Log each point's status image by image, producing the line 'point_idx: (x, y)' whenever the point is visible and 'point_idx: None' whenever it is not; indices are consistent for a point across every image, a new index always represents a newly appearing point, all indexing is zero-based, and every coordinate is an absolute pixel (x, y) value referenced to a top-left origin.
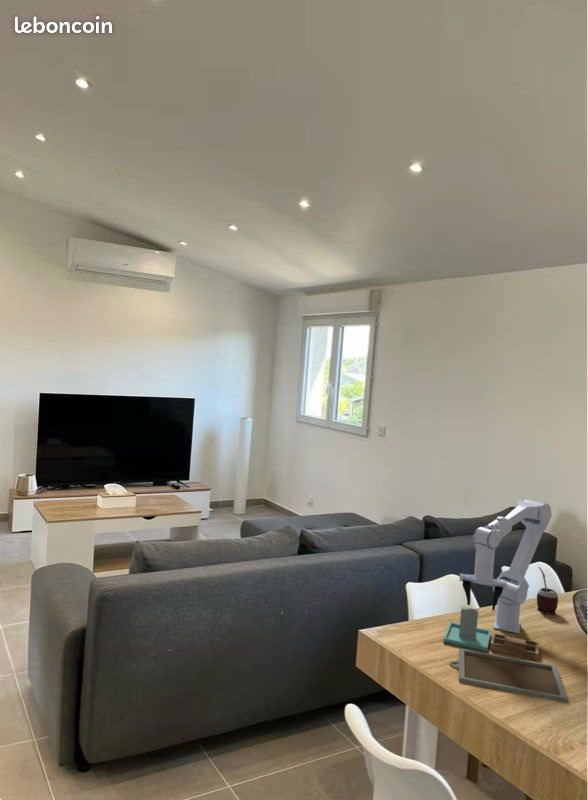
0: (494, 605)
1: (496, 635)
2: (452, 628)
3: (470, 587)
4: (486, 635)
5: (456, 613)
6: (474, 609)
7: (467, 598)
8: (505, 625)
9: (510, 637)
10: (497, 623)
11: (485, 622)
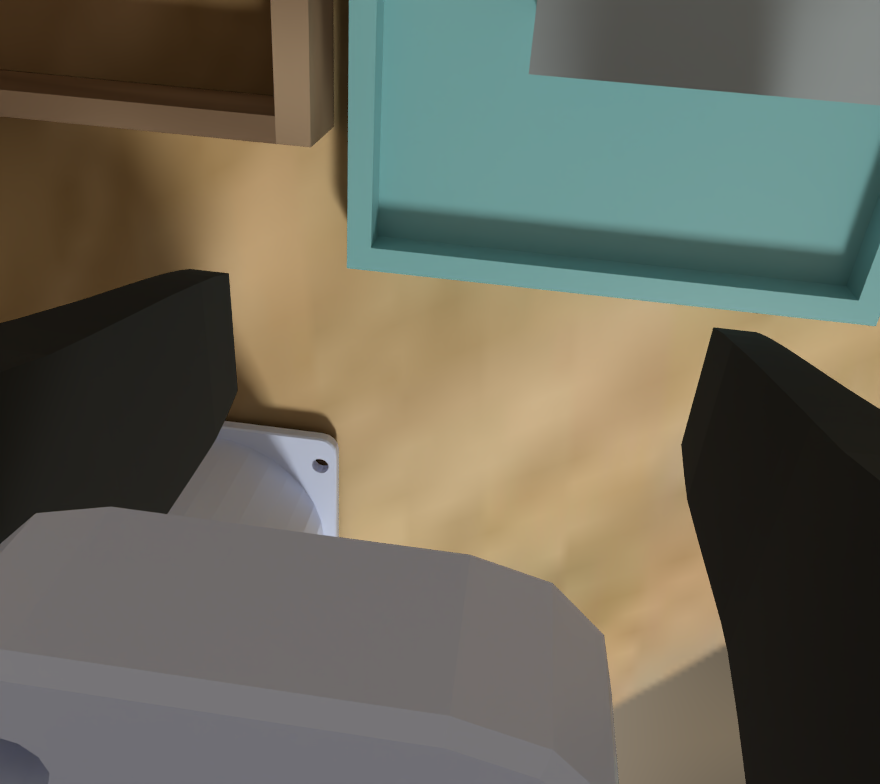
0: (132, 289)
1: (261, 111)
2: (849, 199)
3: (836, 699)
4: (400, 168)
5: (711, 644)
6: (624, 67)
7: (829, 383)
8: (207, 460)
9: (78, 97)
10: (299, 504)
11: (427, 546)
